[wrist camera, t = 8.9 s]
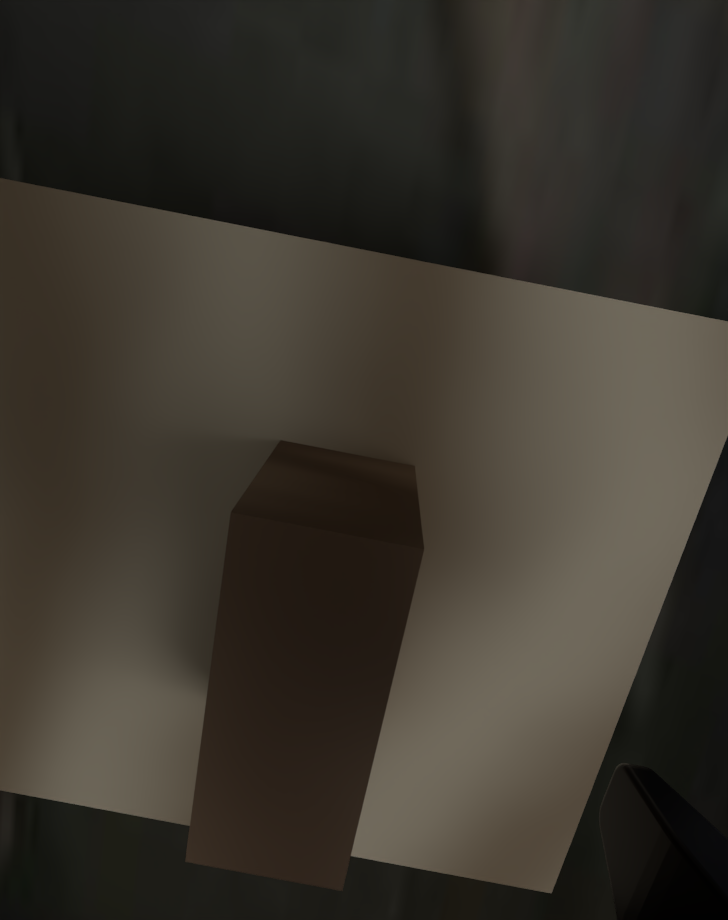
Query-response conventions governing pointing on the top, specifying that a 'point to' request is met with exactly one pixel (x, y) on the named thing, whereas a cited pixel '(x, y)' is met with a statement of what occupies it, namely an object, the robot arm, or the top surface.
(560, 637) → the birch lid
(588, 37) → the top surface
